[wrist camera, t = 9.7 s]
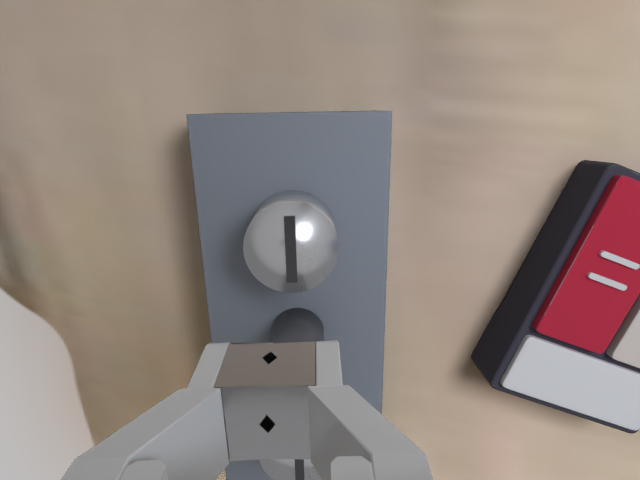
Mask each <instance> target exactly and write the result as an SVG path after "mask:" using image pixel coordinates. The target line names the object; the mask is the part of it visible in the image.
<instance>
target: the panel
mask: <svg viewBox="0 0 640 480" xmlns="http://www.w3.org/2000/svg"><path fill="white" fill-rule="evenodd" d="M187 123H188V132H189V141H190V151H191V160H192V169H193V178H194V187H195V196H196V205H197V215H198V224H199V233H200V242H201V251H202V260H203V269H204V279H205V288H206V297H207V306H208V315H209V324H210V333H211V343H226V342H229V343H269V339H270V334H271V329H272V325H273V322H274V320H275V319H276V317H277V316H278V315H279V314H280V313H282V312H283V311H285V310H288V309H291V308H304V309H307V310H310V311H312V312H313V313H315V314H316V315H317V316H318V317H319V318H320V320H321V322H322V324H323V328H324V341H330V340H338V342H339V349H340V361H341V372H342V383H343V385H349V386H351V387H352V388H353V389H354V390H355V391H356V392H357V393H358V394H359V395H361V396H362V397H363V398H364V399H365V400H366V401H367V402H368V403H370V404H371V405H372V406H373V407H374V408H375V409H376V410H377V411H378V412H380V413H381V414H382V389H383V360H384V332H385V303H386V274H387V245H388V216H389V188H390V159H391V130H392V111H339V112H281V113H224V114H187ZM287 190H299V191H304V192H307V193H310V194H312V195H314V196H316V197H317V198H319V199H320V200H321V201H323V202H324V204H325V205H326V206H327V207H328V209H329V210H330V212H331V214H332V216H333V219H334V223H335V228H336V233H337V239H338V247H339V250H338V258H337V262H336V264H335V267H334V269H333V271H332V272H331V273H330V275H329V276H328V277H327V278H326V279H325V280H324V281H323V282H322V283H321V284H319V285H318V286H316V287H314V288H312V289H310V290H307V291H304V292H299V293H285V292H280V291H276V290H273V289H271V288H269V287H267V286H265V285H264V284H262V283H261V282H260V281H258V280H257V279H256V278H255V277H254V275H253V274H252V273H251V271H250V270H249V268H248V266H247V264H246V261H245V258H244V253H243V241H244V236H245V233H246V230H247V228H248V226H249V224H250V223H251V221H252V219H253V217H254V215H255V214H256V212H257V210H258V209H259V207H260V206H261V205H262V203H263V202H264V201H265V200H267V199H268V198H269V197H271V196H272V195H274V194H276V193H279V192H282V191H287ZM225 470H226V480H273V479H272V478H271V477H269V476H268V475H267V474H266V473H265V471H264V470H263V468H262V466H261V464H260V460H242V461H229V464H228V466H227V467H226V468H225Z"/></svg>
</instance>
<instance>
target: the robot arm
mask: <svg viewBox="0 0 640 480" xmlns="http://www.w3.org/2000/svg"><path fill="white" fill-rule="evenodd" d="M262 459H311V463H312V464H313V466H314V468H315V469H316V471H317V472H318V474H319V476H320V477H321V479H322V480H433V478H432V474H431V471H430V468H429V464H428V461H427V458H426V454H425V453H424V452H423V451H422V450H421V449H420V448H419V447H418V446H416V445H415V444H414V443H413V442H412V441H411V440H410V439H409V438H407V437H406V436H405V435H404V434H403V433H402V432H401V431H400V430H399V429H397V428H396V427H395V426H394V425H393V424H392V423H391V422H390V421H388V420H387V419H386V418H385V417H384V416H383V415H382V414H381V413H380V412H378V411H377V410H376V409H375V408H374V407H373V406H372V405H371V404H370V403H368V402H367V401H366V400H365V399H364V398H363V397H362V396H361V395H359V394H358V393H357V392H356V391H355V390H354V389H353V388H352V387H351V386H349V385H343V383H342V372H341V361H340V349H339V342H338V340H330V341H315V342H292V343H229V342H226V343H209V344H207V345H206V346H205V348H204V350H203V353H202V355H201V357H200V359H199V361H198V364H197V366H196V368H195V370H194V372H193V375H192V377H191V379H190V381H189V384H188V386H187V388H184V389H178V390H177V391H175V392H174V393H172V394H171V395H169V396H168V397H167V398H165V399H164V400H162V401H161V402H159V403H158V404H156V405H155V406H153V407H152V408H150V409H149V410H147V411H146V412H144V413H143V414H141V415H140V416H138V417H137V418H135V419H134V420H132V421H131V422H129V423H128V424H126V425H125V426H123V427H122V428H121V429H119V430H118V431H116V432H115V433H113V434H112V435H110V436H109V437H107V438H106V439H104V440H103V441H101V442H100V443H98V444H97V445H95V446H94V447H92V448H91V449H89V450H88V451H86V452H85V453H83V454H82V455H80V456H79V457H78V458H76V459H75V460H74V461H73V463H72V464H71V466H70V467H69V469H68V470H67V472H66V473H65V475H64V476H63V477H62V479H61V480H216V479H217V477H218V476H219V475H220V474H221V473H222V472H223V470H224V469H225V468H226V467H227V466H228V464H229V461H242V460H262Z"/></svg>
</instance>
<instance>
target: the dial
mask: <svg viewBox="0 0 640 480" xmlns="http://www.w3.org/2000/svg"><path fill="white" fill-rule="evenodd" d="M315 341H324V328H323V324H322V322H321V320H320V318H319V317H318V316H317V315H316V314H315V313H313V312H312V311H310V310H307V309H304V308H291V309H288V310H285V311H283V312H282V313H280V314H279V315H278V316H277V317H276V319H275V320H274V322H273V325H272V329H271V334H270V339H269V343H292V342H315Z"/></svg>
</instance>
